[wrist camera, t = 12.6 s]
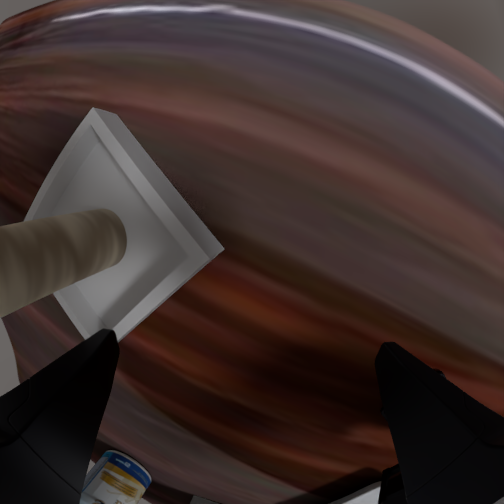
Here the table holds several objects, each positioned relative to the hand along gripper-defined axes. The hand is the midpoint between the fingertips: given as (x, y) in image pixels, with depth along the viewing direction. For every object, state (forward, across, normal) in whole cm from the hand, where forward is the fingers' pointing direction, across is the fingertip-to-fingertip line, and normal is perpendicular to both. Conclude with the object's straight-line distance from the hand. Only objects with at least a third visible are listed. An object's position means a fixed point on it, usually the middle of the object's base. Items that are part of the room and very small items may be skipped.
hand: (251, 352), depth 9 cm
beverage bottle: (+10, +15, +37) cm, 41 cm away
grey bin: (+15, +12, +3) cm, 20 cm away
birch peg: (+15, +12, +3) cm, 19 cm away
